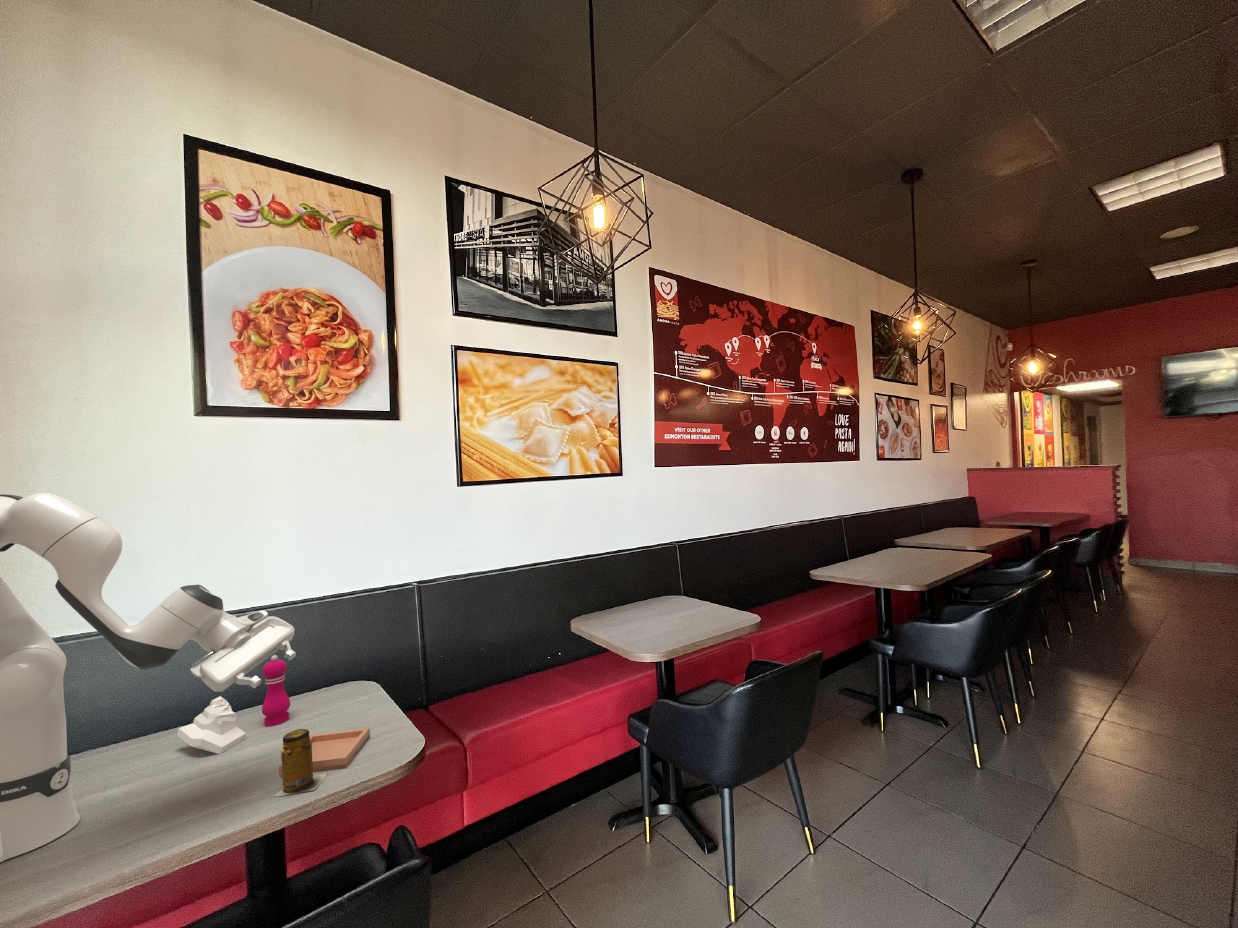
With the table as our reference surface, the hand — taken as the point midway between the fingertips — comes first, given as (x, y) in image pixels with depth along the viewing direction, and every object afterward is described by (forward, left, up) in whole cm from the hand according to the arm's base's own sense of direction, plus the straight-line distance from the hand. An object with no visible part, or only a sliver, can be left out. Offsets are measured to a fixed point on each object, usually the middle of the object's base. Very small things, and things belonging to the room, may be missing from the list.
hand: (276, 670), depth 120 cm
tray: (+6, +11, -26) cm, 29 cm away
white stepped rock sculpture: (-30, +25, -27) cm, 48 cm away
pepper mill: (-20, +37, -27) cm, 50 cm away
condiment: (+6, -2, -27) cm, 27 cm away
